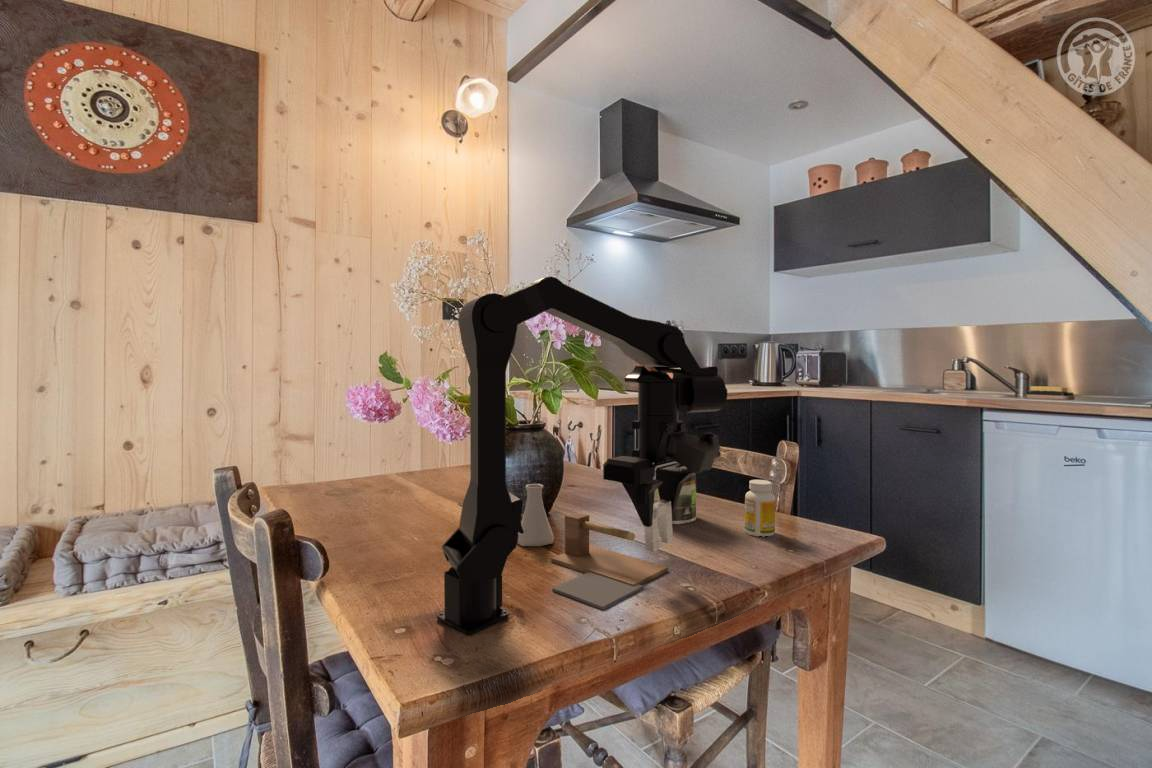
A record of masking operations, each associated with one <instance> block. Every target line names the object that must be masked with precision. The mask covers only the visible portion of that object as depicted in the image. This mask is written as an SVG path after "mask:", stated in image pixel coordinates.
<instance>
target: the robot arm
mask: <svg viewBox="0 0 1152 768" xmlns="http://www.w3.org/2000/svg"><path fill="white" fill-rule="evenodd" d="M543 313H546V314H548V315H551V316H554V317H556V318H558V319H560V320H562V321H564V322H567V323H569V324H572V325H574V326H576V327H577V328H580V329H582V330H585V331H586V332H589V333H592V334H593V335H596V336H598V337H600V338H602V339H604V340H606V341H609V342H611V343H612V344H614V345H615V346H617V347H618V348H619V349H620V350H621V352H622V353H623V354H624V355H625V356H627V357H629V358H630V359H632V361H634V362H635V363H637V364H638V365H635V366H634V368H633V370H632V371H631V372H630V373H629V374H628V375H626V376H625V377H624V379H623V380H624V383H631V384H637V386H638V387H637V392H638V394H637V402H638V403H637V415H638V416H637V419H638V420H632V421H631V428H632V429H637V435H638V436H637V441H638V442H637V444H638V445H637V446H638V447H637V448H635V449H634V448H633V449H631V456H627V455H621V456H616V457H615V456H614V457H612V458H611V457H610V458H607V460H606V461H605V462H604V463H603V464H602V479H603V480H606V481H611V482H617V483H621V484H622V486H623V488H624V489H625V491H626V493H627V495H628V497H629V498H630V500H631V502H632V504H633V506H634V509H635V510H636V512H637V516H639V520H640V521H641V523H642V526H643V527H645V526H646V527H650V526H651V523H652V517H653V506H654V494H655V490H656V489H657V488H658V492H659V497H660V501H661V500H663V499H664V500H669V501H671V510H672V517H673V513H674V510H675V507H676V504H677V501H678V498H679V494H680V491H681V489H682V486H683V484H684V482H685V481H686V480H687V479H688V478H689V477H691V476H692V475H693V474H695V473H696V474H701V473H702V472H704V471H711V470H712V467H713V465H714V462H715V459H717V458H720V457H721V451H720V449H721V447H720V441H719V435H717V434H715V433H713V432H711V431H709V432H704V433H703V434H701V435H700V436H699V435H697V434H695V435H692V434H690V433H688V432H687V425H686V424H687V423H685V420H679V412H680V411H681V412H682V413H685V414H688V413H705V412H709V413H710V412H719V411H720V410H722V409H723V408H724V407H725V405H726V403H727V399H728V389H727V387H726V384H725V381H724V380H723V378H722V377H721V375H719V374H718V372H719V371H718V370H719V369H718V366H700V364H698V362H697V360H696V358H695V356H694V355H693V353H692V352H691V350H690V349H689V348H690V347H688V345H687V344H686V340H685V337H684V335H685V334H684V332H683V331H682V330H681V329H680V328H679V327H677V326H675V325H673V324H668V323H664V322H661V321H657V320H651V319H645V318H643V319H642V318H638V317H635V316H632V315H629V314H627V313H626V312H623V311H621V310H619V309H617V308H615V307H614V306H611V305H610V304H609V305H608V304H607V303H604V302H602V301H600V300H598V299H596V298H594V297H592V296H590V295H587V294H586V293H585V292H582V291H580V290H578V289H576V288H573V287H571V286H569V285H567V284H565V283H564V282H562V281H561V280H560V279H559V278H557V277H555V276H546V277H543V278H540V279H538V280H535V281H532V283H530V284H529V285H528V286H525V287H523V288H521V289H518V290H516V291H513V292H511V293H508V294H506V295H503V294H500V293H496V292H494V293H487V294H484V295H481V296H479V297H476V298H474V299H472V300H470V301H467V302H466V304H464V305H463V307H462V308H461V309H460V311H459V314H458V326H459V327H458V328H459V333H460V339H461V345H462V349H463V353H464V355H465V358H466V362H467V365H468V368H469V372H470V373H469V377H470V378H469V381H470V383H469V384H470V385H469V387H470V389H469V391H470V392H469V396H470V397H469V400H470V401H469V404H470V406H469V408H470V409H469V411H470V412H469V413H470V415H469V417H470V418H469V420H470V422H469V424H470V425H469V426H470V429H469V430H470V437H469V438H470V441H469V442H470V444H469V445H470V447H469V448H470V450H469V451H470V457H469V458H470V467H469V468H470V479H469V480H470V481H469V484H468V487H467V489H466V492H465V493H466V494H465V496H464V498H463V502H462V506H461V507H462V508H461V512H460V519H459V526H458V527H457V529H455V530H454V532H453V533H452V534H451V536H450V537H449V538H448V539H447V540H446V541H445V542H444V543H443V544H442V546H441V549H442V553H443V554H444V558H445V560H446V561H447V562H448V564H449V565H450V566H451V567H449V570H447V571H444V574H443V575H444V576H443V581H444V582H443V587H444V588H443V589H444V592H443V593H444V600H443V601H444V611H442V612H439V613H437V614H436V618H437V620H439V621H440V622H442V623H444V624H446V625H448V626H450V627H452V628H454V629H455V630H457V631H460V632H461V633H463V634H465V635H471V634H473V633H475V632H478V631H480V630H482V629H485V628H487V627H489V626H491V625H494V624H496V623H498V622H500V621H502V620H505V619H507V618H509V614H510V613H509V611H508V610H505V609H503V608H502V607H503V575H502V574H503V571H504V569H505V564H506V562H507V559H508V557H509V556H510V555H511V553H512V552H513V551H514V550H516V548H517V547H518V537H519V536H518V532H519V533H521V534H523V533H524V531H523V529H522V526H521V521H522V515H523V514H522V513H523V500H522V499H521V498H519V497H518V496H516V495H515V494H513V493H512V492H510V491H509V489H508V486H507V422H506V421H507V403H506V402H507V391H506V389H507V378H506V377H507V373H506V372H507V368H508V365H509V362H510V359H511V357H512V353H513V351H514V348H515V342H516V337H517V331H518V325H520V324H521V323H524V322H526V321H529V320H531V319H533V318H535V317H536V316H539V315H540V314H543ZM649 367H650V368H652V370H648V369H647V368H649ZM669 374H672V377H671V376H670V375H669ZM653 463H654V464H653Z"/></svg>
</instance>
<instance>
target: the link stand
mask: <svg viewBox="0 0 1152 768" xmlns="http://www.w3.org/2000/svg"><path fill="white" fill-rule="evenodd" d="M590 531H592V532H597V533H601V534H605V535H608V536H612V537H616V538H619V539H624V540H627V541H633V540H635V538H636V535H635V533H634V532H632V531H628V530H624V529H621V528H616V527H612V526H608V525H603V524H600V523H596V522H592V521H590V515H589V514H587V513H582V512H578V511H577V512H573V513H569V514H566V515H564V553H561V554H558V555H556V556H553V557H551V558H550V559H551V561H550V562H551V563H554V564H557V565H560V566H561V567H562V566H563V567H567V568H569V569H572V570H576V571H577V572H578V571H579V572H581V573H583V574H586V573H588V572H592V573H595V574H598V575H601V576H604V577H607V578H610V579H613V580H616V581H619V582H623V583H626V584H629V585H632V586H634V585H636V584H639V585H643V584H645V583H647V582H650V581H651V580H653V579H656V578H657V577H659V576H661V575H663V574H665V573H666V572H668V571H669V566H666V565H662V564H659V563H656V562H653V561H652V562H651V561H648V560H645V559H641V558H638V557H634V556H631V555H628V554H627V555H626V554H624V553H621V552H620V553H619V552H616V551H613V550H610V549H606V548H602V547H599V546H595V545H592V544H590Z"/></svg>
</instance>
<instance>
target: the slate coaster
mask: <svg viewBox="0 0 1152 768" xmlns="http://www.w3.org/2000/svg"><path fill="white" fill-rule="evenodd" d="M551 588H552V589H551V590H552V592H554V593H558V594H560V595H562V596H565V597H568V598H569V599H570V598H571V599H572V600H576V601H578V602H581V603H583V604H586V605H589V606H592V607H593V608H597V609H600V610H603V611H604V610H606V609H608V608H609V607H612V606H613V605H615V604H617V603H618V602H621V601H623V600H625V599H626V598H628V597H630V596H632V595H634V594H635V593H638V592H639V591H641V590H643V589H644V585H643V584H642V585H639V584H636V585H634V586H632V585H629V584H626V583H623V582H619V581H616V580H613V579H610V578H607V577H604V576H601V575H598V574H595V573H592V572H588V573H583V574H581V575H579V576H577V577H574V578H572V579H570V580H568V581H566V582H563V583H561V584H559V585H555V586H553V587H551Z"/></svg>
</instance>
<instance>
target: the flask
mask: <svg viewBox="0 0 1152 768" xmlns="http://www.w3.org/2000/svg"><path fill="white" fill-rule="evenodd" d="M543 489H544V484H542V483H531V484H529V483H528V484H526V485H525V490H526V492H527V493H526V494H527V495H526V502H525V509H524V511H523V514H522V517H521V526H522V529H523V531H524V533H523V534H521V533H519V532H518V536H519V537H518V543H517V545H520V546H522V547H542V546H546V545H552V544H554V541H555V535H554V532H553V530H552V527H551V524H550V522H549V520H548V519H549V518H548V516H547V513H546V509H545V507H544V500H543V496H542V495H543Z"/></svg>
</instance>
